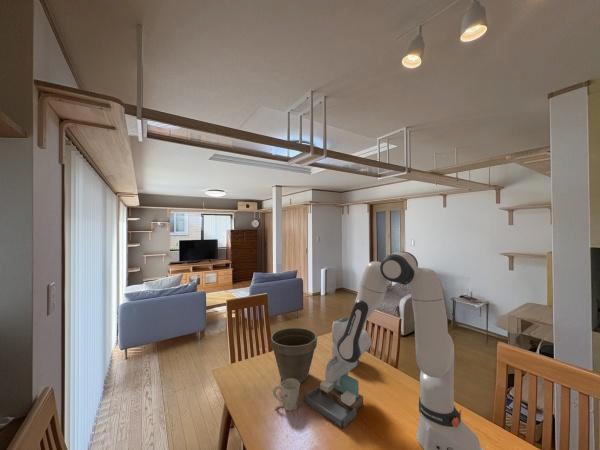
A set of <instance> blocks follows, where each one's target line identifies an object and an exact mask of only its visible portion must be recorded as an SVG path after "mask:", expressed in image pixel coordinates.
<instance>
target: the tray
mask: <svg viewBox="0 0 600 450" xmlns="http://www.w3.org/2000/svg"><path fill="white" fill-rule="evenodd" d="M320 390H321V389H320V385H318V386H317V387H315V388H314V389H312V390H310V391H309V392H307V393H306V394H305V395H303V402H304V404H305V405H307V406H309V407H310V408H311V409H313V410H315V412H318V413H319V414H320V415H322V416H323V417H324V418H326V419H327V420H329V421H330V422H332V423H333V424H334V425H336V426H338V427H339V428H340V429H341V430H344V429H345V428H346V427H347V426H348V425H349V424H350V423H351V422H352V421H353V420H355V418H357V416H358V415H357V413H358V412H357V411H358V410H357V409H356V408H354V409H353V410H352V411H350V410H348V409H347V408H345V407H343V406H342V405H340V404H338V403H337V402H335V401H334V400H332V399H330V398H329V397H327V396H325V395H324V394H322V393H321V391H320Z"/></svg>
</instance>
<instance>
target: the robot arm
mask: <svg viewBox="0 0 600 450" xmlns="http://www.w3.org/2000/svg"><path fill="white" fill-rule="evenodd" d="M390 282H392V283H397V284H399V285H403V286H405V285H407V286H408V287H409V288H408V289H409V291H410V298H411V303H412V304H411V306H412V311H413V312H412V313H413V318H414V319H413V320H414V341H415V342H414V343H415V361H416V362H415V363H416V365H417V367H418V369H420V374H419V398H418V413H419V418H418V419H419V421H418V425H417V429H416V431H415V432H416V434H415V437H416V440H417V442H418V443H419V445H420V446H421V447H422V449H423V450H485V448H483V447H481V446H482V445H481V443H480V439H479V437H478V436H477V434H476V433H475V432H474V431H473V430H472V429H471V428H470V427H469V426H468V425H467V424H466V423H465V422H464V421H463V420H462V409H459V411H458V410H457V408H456V406H455V392H454V385H455V382H454V381H455V379H454V378H455V345H454V340H453V339H452V336H451V334H449V330H448V329H449V327H448V326H449V325H448V316H447V311H446V310H447V309H446V305H445V298H444V293H443V289H442V286H441V283H440V279H439V276H438V274H437V272H436V271H435V270H433V269H432V268H429V267H428V268H427V267H419V263H418V260H417V258H416V256H414V254H412V253H410V252H407V251H397V252H393V253H391V254H387V255H386V256H385V257H383V259H382V260H381V262H380V261H377V260H375V261H370V262H368V263H367V265H366V267H365V268H364V270H363V273H362V277H361V278H360V283H359V288H358V290H357V294H356V297H355V301H354V305H353V308H352V310H351V312H350V316H349V318H348V317H339V318H336V319H335V320H333V322H332V325H331V326H332V327H331V339H332V343H331V345H332V346H331V357H332V358H331V359H329V360H328V362H327V363H326V365H325V371H324V372H325V376H324V377H325V380H327V381H329V382H331V383H333V382H334V381H337V385H338V386H340V385H342V384H341V383H342V381H340V380H339V379H340V377H341V376H343V375H344V374H346V375H348V376H349V374H350V371H351V370H353V369H355V368H356V367H357V366H358V365H357V360H358V359H359V360H360V358H361V356H362V355H363V354H365V353H366V352H367V350H369V348H370V347H371V346H372V342H373V341H372V336H371V335H370V333H369V332H368V330H366V329H365V328H364V327H365V324H366V322H367V320H368V319H369V318H370V316H371V315H372V314H373V313H374V312H375V311H376V310H377V309H379V308H380V306H381V305H382V303H383V301H384V299H385V296H386V293H387V289H388V285H389V283H390ZM356 365H357V366H356Z"/></svg>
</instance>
